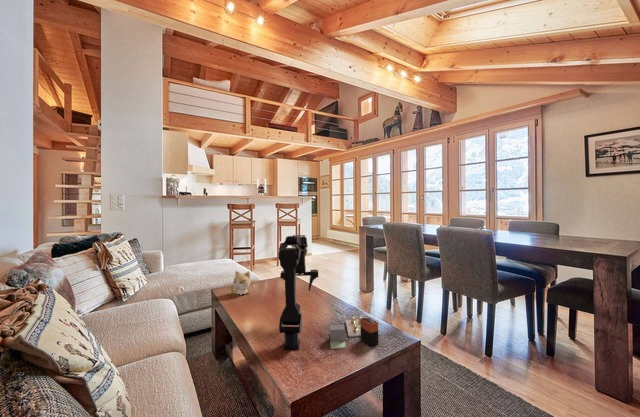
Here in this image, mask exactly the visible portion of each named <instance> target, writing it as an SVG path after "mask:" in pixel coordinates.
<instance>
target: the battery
mask: <svg viewBox="0 0 640 417" xmlns="http://www.w3.org/2000/svg"><path fill="white" fill-rule="evenodd" d="M360 326H361V336H360V341H362V342H363V343H365V344H366V345H368V346H369V347H373V346H374V347H375V346H376V345H378V344H379V322H378V321H376V320H375V319H373V318H372V317H370V316H369V315H363V317H362V318H361V319H360Z"/></svg>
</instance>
